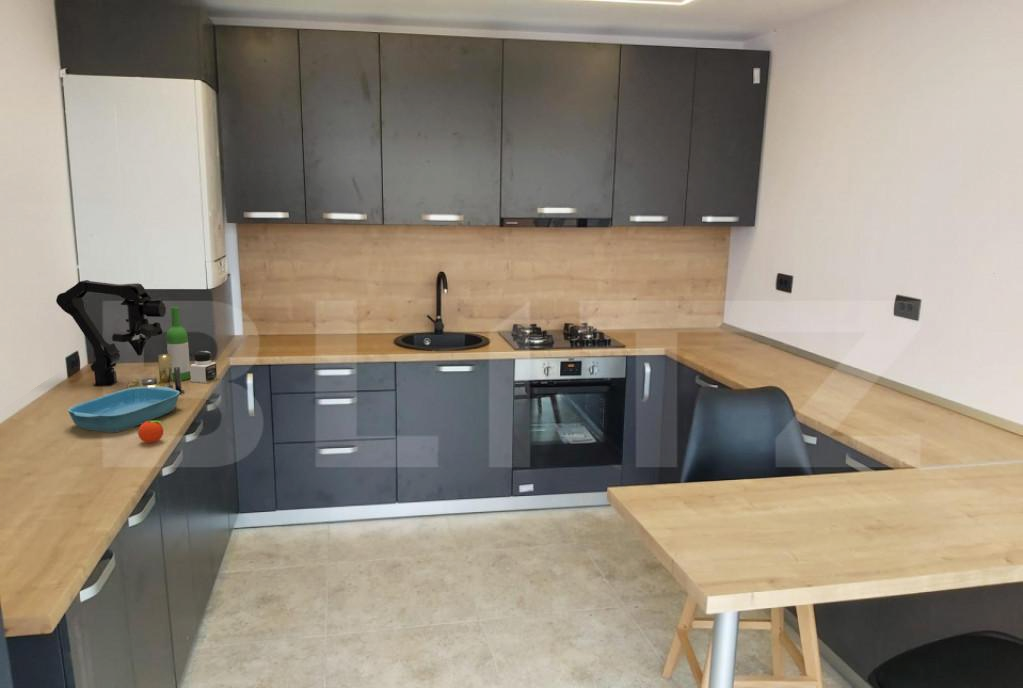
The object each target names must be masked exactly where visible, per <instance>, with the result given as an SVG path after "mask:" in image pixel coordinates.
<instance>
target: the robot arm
mask: <svg viewBox="0 0 1023 688" xmlns="http://www.w3.org/2000/svg"><path fill="white" fill-rule="evenodd" d="M89 292H90V293H96V294H98V293H99V294H105V295H114V296H117V297H120V298H122V299H124V300H123V301H122V302H121V303H120V305H121V306H126V309H127V318H126V319H125V322H126V323H127V322H128V328H127V329H126V332H123V331H120V332H115V333H113V334H112V335H111V336H112V337H111V339H112V341H113V342H118V343H127V342H128V343H129V345H131V347H132V348H133V350H134V352H135V353H136V355H137V356H139V357H140V356H142V355H143V351H144V347H145V345H146V343H147V341H149V340H150V339H151V338H152V337H156V336H159V335H163V329H162V328H161V323H160V322H158V321H157V322H153V323H149V319H148V318H149V317H151V318H164V317H165V315H166V311H167V308H166V306H165V303H164V302H163V299H160V298H159V299H153V298H152V297H151V296H150V295H149V294H148V293H147V291H146V289H145V287H144V286H143V285H142V284H141V283H139V282H138V283H137V282H136V283H124V284H120V283H119V284H118V283H111V282H110V283H108V282H102V281H101V282H100V281H91V280H89V279H85V280H80V281H78V282H77V283H76V284H75V285H74V286H72V287H71V288H69V289H68V290H66V291H64V292H61V293H59V294H58V295H57V296H56V300H55V302H56V304H57V305H58V307H59V308H61V310H62V311H63V312H65V313H66V314H68V315H69V316H71V317H72V319H73V320H74V321H75V323H76V325H77V326H78V328H79V329H80V331H81V332H82V333H83V335H84V337H86V339H87V341H88V342H89V344H90V345H91V347H92V348H93V350H92V351H93V356H94V359H95V361H94V362H93V363H92V364H91V365H90V369H91V372H94V384H93V386H96V387H97V386H98V387H99V386H100V387H101V386H103V387H105V386H106V387H107V386H109V387H110V386H113V385H115V384H116V383H117V382H118V379H117V371H115V367H116V366H117V364H118V362H119V361H120V358H121V355H120V352H121V351H120V350H119V349H118V348H117V347H116V344H115V343H111V344H110V343H108V342H107V341H105V338H103V336H102V334H101V332H100V331H99V330H98V328H97V327H96V326H95V324H94V322H93V320H92V319H91V318H90V316H89V314H88V313H87V312H86V310H85V304H84V303H85V302H84V301H83V298H84V297H85V296H86V295H87V294H88V293H89Z"/></svg>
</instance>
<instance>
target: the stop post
mask: <svg viewBox="0 0 1023 688" xmlns="http://www.w3.org/2000/svg"><path fill="white" fill-rule="evenodd" d="M174 375H175V381H174V384H175V385H174V387H175V389H174V390H177V391H179V392H180V394H179V395H182V394H181V393H183V394H185V390H183V389H182V381H181V377H180V367H175V368H174Z"/></svg>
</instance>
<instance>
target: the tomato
mask: <svg viewBox="0 0 1023 688" xmlns="http://www.w3.org/2000/svg"><path fill="white" fill-rule="evenodd" d="M162 424H163V425H165V423H164V422H163V421H159V420H150V421H146V422H144V423H143V424H140V425H139V428H138V432H137V434H138V438H139V439H140V441H142V442H143V443H146V444H153V443H152V442H154V443H156V442H159V441H161V439H162V437H163V435H164V427H163V426H162ZM165 426H166V427H168V425H165Z"/></svg>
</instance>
